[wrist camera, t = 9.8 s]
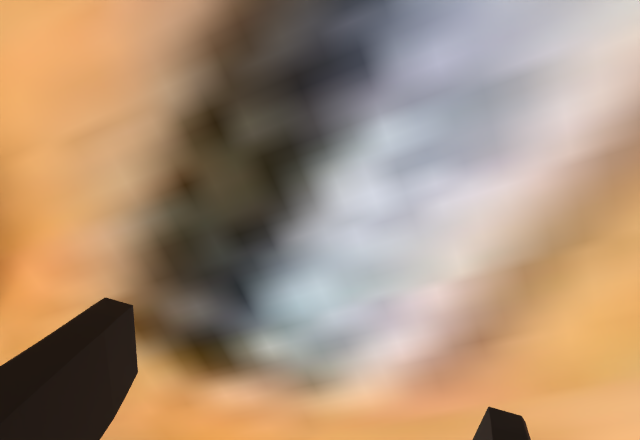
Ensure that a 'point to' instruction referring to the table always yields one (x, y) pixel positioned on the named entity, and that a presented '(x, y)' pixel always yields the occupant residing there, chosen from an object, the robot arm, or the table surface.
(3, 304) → the table surface
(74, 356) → the robot arm
